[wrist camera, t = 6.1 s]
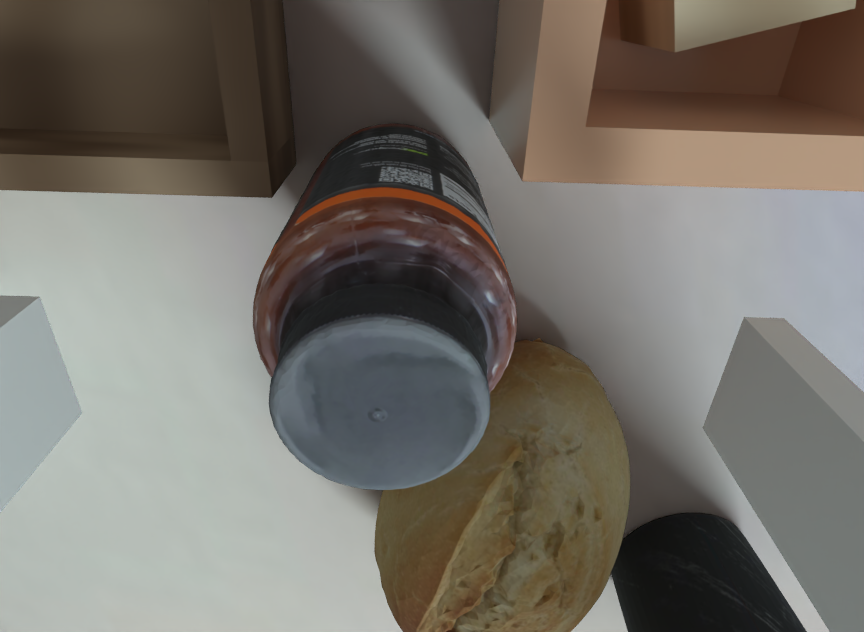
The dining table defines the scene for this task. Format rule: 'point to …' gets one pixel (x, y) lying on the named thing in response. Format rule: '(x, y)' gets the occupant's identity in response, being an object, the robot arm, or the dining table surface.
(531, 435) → the bread roll
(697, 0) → the maple cube
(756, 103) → the light wooden box
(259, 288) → the supplement bottle
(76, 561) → the dining table surface
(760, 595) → the travel mug
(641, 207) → the dining table surface
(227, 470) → the dining table surface
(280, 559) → the dining table surface
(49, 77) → the walnut bin
